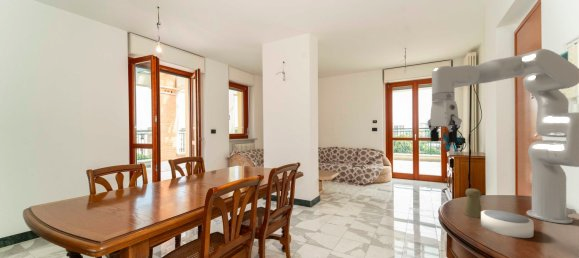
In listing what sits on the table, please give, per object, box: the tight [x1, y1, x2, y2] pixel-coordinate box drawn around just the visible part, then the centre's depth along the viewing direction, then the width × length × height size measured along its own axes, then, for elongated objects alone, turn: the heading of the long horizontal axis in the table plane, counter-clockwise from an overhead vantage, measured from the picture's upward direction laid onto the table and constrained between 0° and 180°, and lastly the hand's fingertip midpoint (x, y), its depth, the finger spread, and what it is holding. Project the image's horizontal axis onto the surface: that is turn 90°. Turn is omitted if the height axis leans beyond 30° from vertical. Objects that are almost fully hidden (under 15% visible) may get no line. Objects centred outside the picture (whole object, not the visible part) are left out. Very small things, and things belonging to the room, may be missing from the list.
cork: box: [463, 188, 482, 219], centre depth 100 cm, size 6×6×11 cm
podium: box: [480, 209, 535, 239], centre depth 86 cm, size 14×14×5 cm
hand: (443, 141), depth 94 cm, fingers open, 9 cm apart
